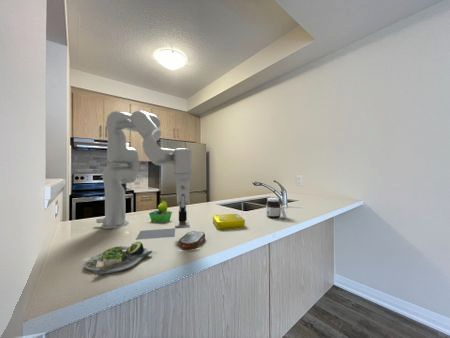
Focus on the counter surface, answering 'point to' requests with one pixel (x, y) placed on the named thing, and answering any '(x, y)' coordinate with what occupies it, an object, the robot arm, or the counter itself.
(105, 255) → the salad plate
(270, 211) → the spread jar
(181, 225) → the wood block on base
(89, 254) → the counter surface
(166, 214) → the fruit basket
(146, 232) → the mat
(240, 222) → the element tile
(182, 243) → the tin
